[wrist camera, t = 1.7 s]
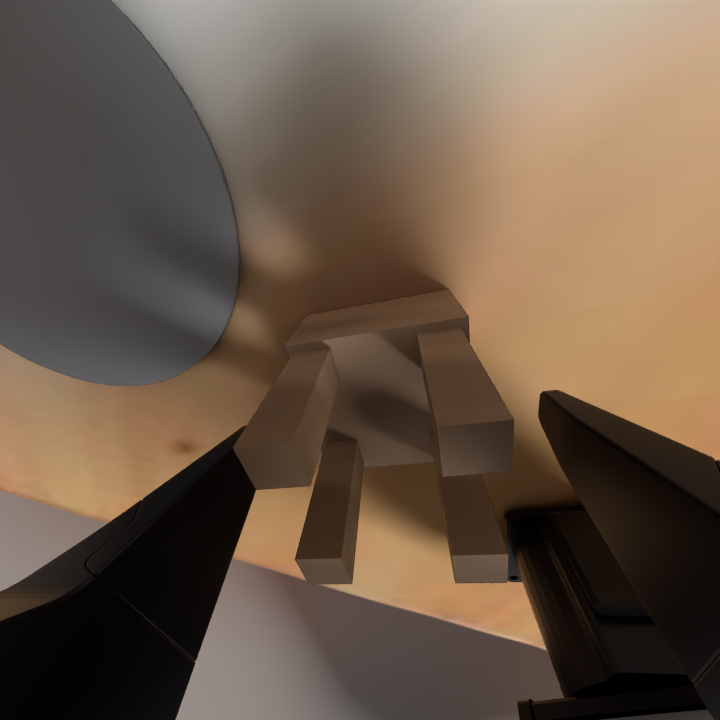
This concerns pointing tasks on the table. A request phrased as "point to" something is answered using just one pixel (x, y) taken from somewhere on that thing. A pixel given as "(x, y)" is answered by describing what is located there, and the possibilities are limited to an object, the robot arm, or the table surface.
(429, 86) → the table surface
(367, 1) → the table surface
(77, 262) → the mat
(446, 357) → the stool
